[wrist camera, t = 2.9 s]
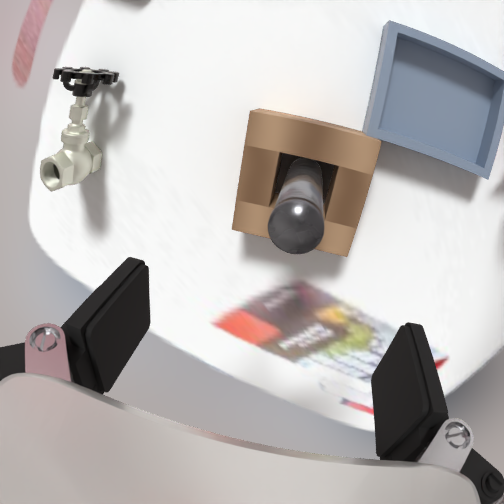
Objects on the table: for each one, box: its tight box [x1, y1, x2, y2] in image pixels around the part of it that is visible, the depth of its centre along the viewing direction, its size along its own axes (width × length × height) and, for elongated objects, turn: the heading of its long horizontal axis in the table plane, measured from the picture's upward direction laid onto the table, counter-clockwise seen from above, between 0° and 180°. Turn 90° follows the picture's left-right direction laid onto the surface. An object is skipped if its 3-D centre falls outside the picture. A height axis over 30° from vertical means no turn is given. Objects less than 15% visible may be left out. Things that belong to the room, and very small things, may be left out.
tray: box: [362, 20, 504, 179], centre depth 21 cm, size 12×10×2 cm
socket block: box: [232, 109, 382, 257], centre depth 26 cm, size 10×10×4 cm
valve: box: [40, 67, 119, 191], centre depth 26 cm, size 7×7×12 cm
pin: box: [268, 158, 324, 254], centre depth 23 cm, size 3×3×12 cm
